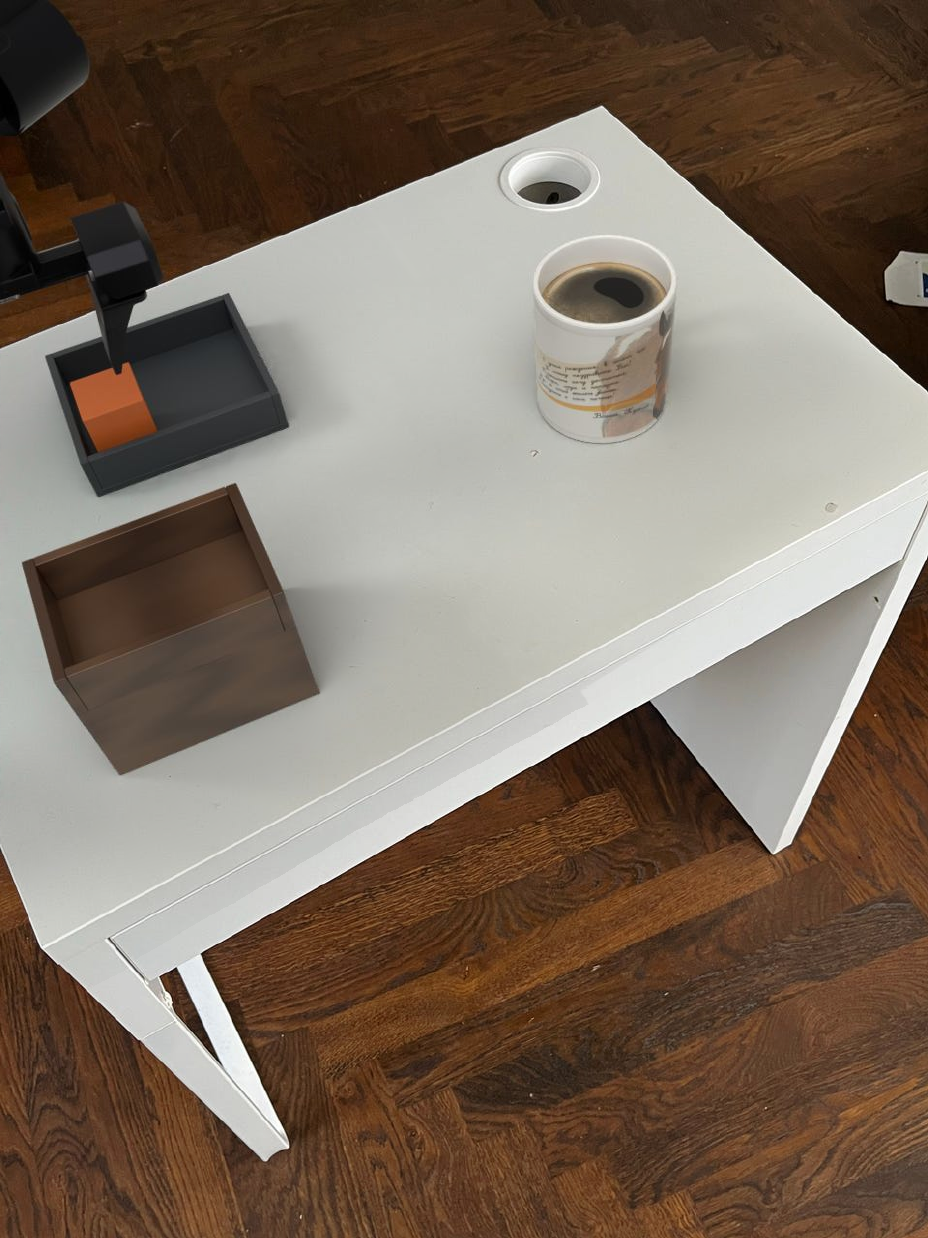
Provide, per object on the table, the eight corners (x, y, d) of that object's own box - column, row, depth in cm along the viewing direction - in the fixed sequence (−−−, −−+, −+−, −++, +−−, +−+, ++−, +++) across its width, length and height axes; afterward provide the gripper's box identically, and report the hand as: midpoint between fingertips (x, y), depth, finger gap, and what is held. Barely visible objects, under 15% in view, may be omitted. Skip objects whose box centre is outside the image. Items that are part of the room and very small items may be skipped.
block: (108, 473, 86) (82, 421, 81) (95, 435, 88) (69, 382, 84) (166, 452, 87) (143, 399, 82) (151, 415, 89) (128, 361, 85)
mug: (506, 384, 89) (498, 266, 80) (630, 319, 92) (635, 198, 83) (588, 464, 83) (589, 347, 74) (717, 392, 86) (733, 271, 77)
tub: (97, 497, 85) (80, 464, 82) (61, 389, 93) (44, 355, 90) (289, 427, 88) (279, 392, 85) (239, 327, 95) (228, 292, 92)
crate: (119, 776, 72) (53, 683, 63) (86, 662, 77) (21, 561, 68) (320, 693, 74) (284, 592, 65) (274, 589, 79) (235, 481, 70)
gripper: (80, 67, 69) (155, 281, 82) (-238, 157, 66) (-109, 366, 78) (124, 158, 63) (198, 375, 76) (-225, 263, 59) (-87, 472, 72)
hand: (49, 393), depth 75 cm, fingers open, 9 cm apart
